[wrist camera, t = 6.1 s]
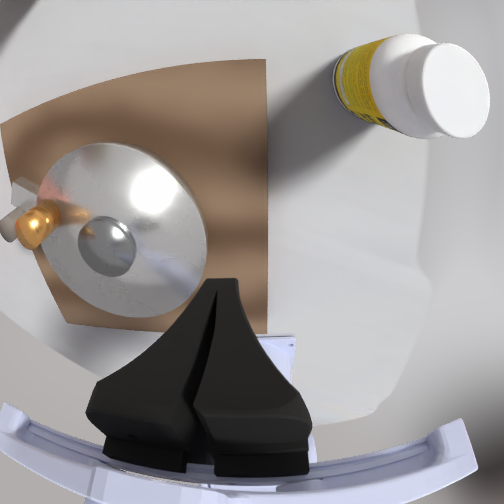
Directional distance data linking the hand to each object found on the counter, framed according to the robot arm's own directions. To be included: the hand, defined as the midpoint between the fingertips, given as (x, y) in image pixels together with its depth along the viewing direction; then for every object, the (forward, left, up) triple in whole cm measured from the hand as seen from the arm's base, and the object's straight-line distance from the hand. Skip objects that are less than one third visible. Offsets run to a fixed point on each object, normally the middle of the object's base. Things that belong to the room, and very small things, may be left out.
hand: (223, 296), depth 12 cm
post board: (-1, +9, -10) cm, 13 cm away
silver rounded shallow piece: (0, +10, -7) cm, 12 cm away
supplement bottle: (+9, -9, -10) cm, 16 cm away
